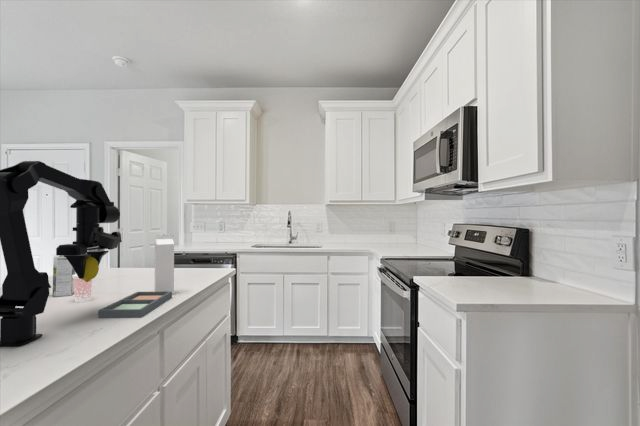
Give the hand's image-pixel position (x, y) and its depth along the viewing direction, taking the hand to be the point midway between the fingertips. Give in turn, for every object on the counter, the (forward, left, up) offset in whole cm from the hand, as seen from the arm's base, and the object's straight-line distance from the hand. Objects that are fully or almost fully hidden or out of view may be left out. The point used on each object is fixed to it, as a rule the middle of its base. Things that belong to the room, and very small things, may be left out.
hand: (87, 276), depth 103 cm
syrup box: (+27, +24, -12) cm, 38 cm away
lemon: (0, 0, -2) cm, 2 cm away
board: (+9, -11, -11) cm, 18 cm away
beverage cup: (+18, +12, -12) cm, 25 cm away
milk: (+27, -12, -12) cm, 32 cm away
